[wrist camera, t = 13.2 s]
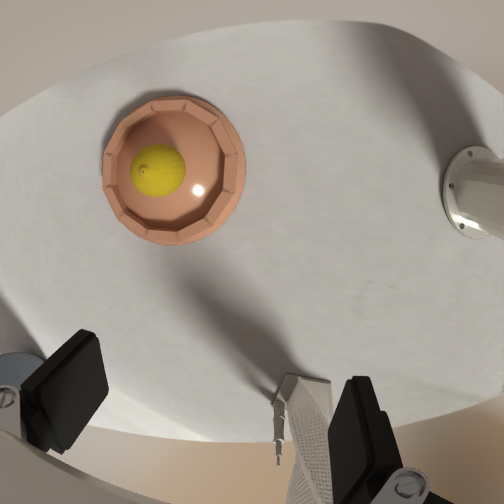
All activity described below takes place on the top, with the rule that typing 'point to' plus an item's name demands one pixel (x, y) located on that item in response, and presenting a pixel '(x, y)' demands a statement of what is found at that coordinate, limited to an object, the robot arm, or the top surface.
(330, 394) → the skyscraper
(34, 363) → the vase
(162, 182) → the lemon
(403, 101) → the top surface
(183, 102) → the dish
